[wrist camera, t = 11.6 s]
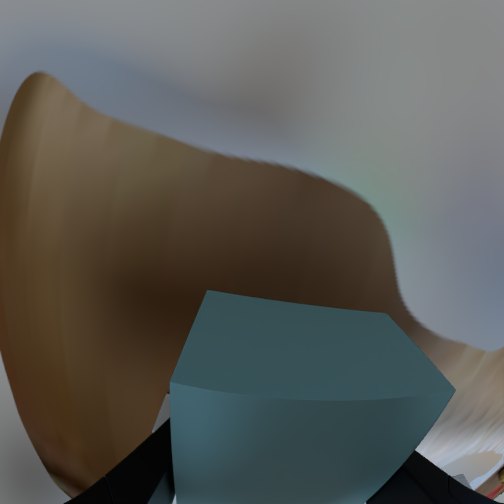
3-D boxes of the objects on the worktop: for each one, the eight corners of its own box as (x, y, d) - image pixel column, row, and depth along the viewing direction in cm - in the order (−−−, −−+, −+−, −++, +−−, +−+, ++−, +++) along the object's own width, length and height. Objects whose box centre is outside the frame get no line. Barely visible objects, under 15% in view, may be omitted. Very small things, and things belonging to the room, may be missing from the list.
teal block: (326, 445, 9) (344, 519, 5) (194, 435, 9) (178, 516, 5) (386, 313, 8) (455, 390, 4) (207, 289, 8) (169, 381, 4)
